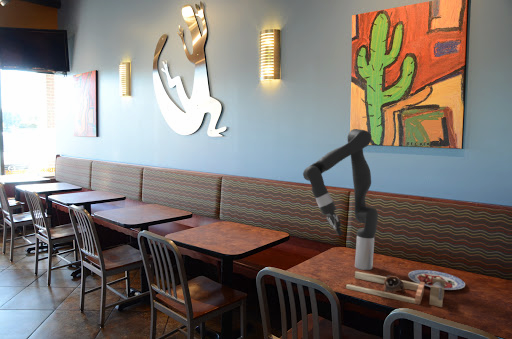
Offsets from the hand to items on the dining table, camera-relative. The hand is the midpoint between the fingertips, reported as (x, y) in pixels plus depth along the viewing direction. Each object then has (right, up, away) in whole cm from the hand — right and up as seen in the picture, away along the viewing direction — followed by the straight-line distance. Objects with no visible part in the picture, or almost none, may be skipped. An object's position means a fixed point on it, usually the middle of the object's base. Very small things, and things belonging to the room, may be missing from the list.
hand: (340, 235), depth 198 cm
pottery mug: (+22, -24, -13) cm, 35 cm away
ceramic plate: (+47, -24, 0) cm, 53 cm away
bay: (+18, -23, -12) cm, 32 cm away
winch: (+37, -25, -24) cm, 51 cm away
